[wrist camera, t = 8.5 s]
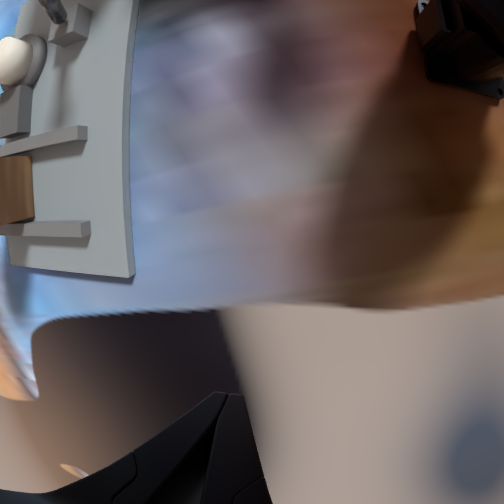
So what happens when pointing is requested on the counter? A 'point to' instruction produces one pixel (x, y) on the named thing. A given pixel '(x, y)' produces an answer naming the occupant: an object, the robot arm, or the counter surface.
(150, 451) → the robot arm
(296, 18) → the counter surface
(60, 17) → the dark gray metallic lever
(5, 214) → the brown tall rectangular block
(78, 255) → the control board
